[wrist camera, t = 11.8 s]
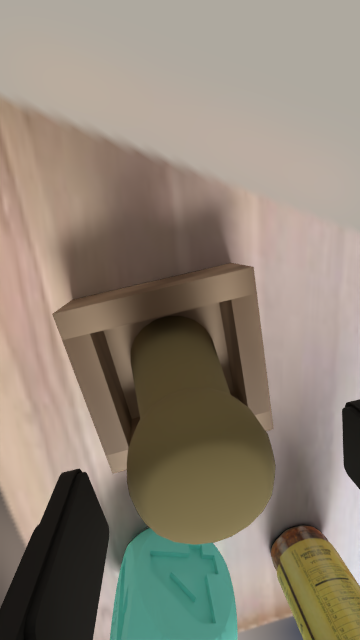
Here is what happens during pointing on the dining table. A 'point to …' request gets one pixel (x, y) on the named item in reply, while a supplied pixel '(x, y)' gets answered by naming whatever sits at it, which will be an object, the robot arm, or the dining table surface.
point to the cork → (193, 439)
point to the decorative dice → (173, 592)
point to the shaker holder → (137, 312)
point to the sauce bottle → (317, 585)
